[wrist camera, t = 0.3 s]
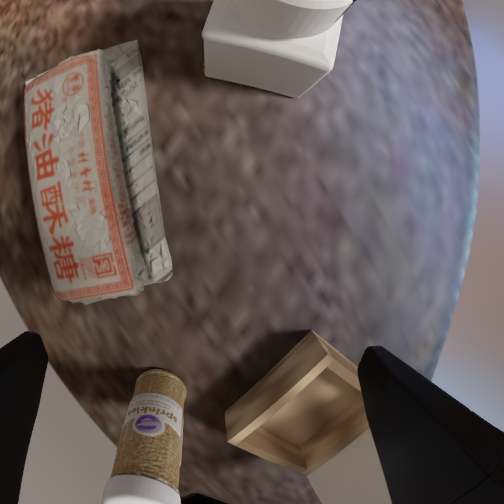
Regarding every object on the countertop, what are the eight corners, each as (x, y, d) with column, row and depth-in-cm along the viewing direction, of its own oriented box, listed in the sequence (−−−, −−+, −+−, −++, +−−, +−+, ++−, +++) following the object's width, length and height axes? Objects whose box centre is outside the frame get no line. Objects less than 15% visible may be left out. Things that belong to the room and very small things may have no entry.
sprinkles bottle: (178, 363, 24) (163, 499, 11) (192, 404, 25) (190, 532, 12) (127, 370, 24) (86, 495, 11) (145, 409, 25) (121, 531, 12)
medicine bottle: (227, 2, 18) (243, -104, 7) (315, 25, 20) (385, -59, 8) (202, 77, 20) (196, -15, 8) (298, 100, 21) (377, 38, 9)
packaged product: (170, 298, 19) (39, 318, 18) (178, 275, 23) (65, 294, 22) (128, 18, 14) (1, 69, 13) (142, 45, 19) (31, 83, 18)
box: (297, 448, 28) (306, 475, 25) (224, 411, 26) (227, 441, 22) (375, 381, 28) (394, 404, 24) (311, 329, 25) (327, 354, 21)
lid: (306, 476, 25) (309, 476, 25) (351, 554, 16) (354, 552, 16) (395, 404, 24) (397, 405, 24) (460, 480, 15) (461, 479, 15)
